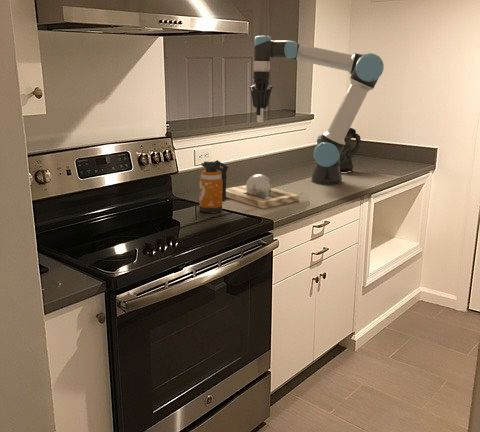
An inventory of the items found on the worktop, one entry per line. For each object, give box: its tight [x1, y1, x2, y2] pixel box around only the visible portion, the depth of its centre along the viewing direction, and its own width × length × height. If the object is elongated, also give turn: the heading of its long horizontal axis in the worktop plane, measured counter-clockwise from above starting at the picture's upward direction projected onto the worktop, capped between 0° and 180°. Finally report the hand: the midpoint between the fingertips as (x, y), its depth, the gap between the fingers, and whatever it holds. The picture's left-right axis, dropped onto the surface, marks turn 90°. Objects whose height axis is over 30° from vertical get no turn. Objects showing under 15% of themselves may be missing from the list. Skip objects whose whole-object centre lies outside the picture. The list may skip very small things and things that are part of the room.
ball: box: [245, 173, 273, 200], centre depth 234 cm, size 11×11×11 cm
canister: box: [198, 159, 229, 213], centre depth 213 cm, size 9×11×20 cm
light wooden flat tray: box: [226, 184, 300, 209], centre depth 238 cm, size 21×28×2 cm
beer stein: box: [339, 127, 362, 172], centre depth 300 cm, size 16×19×25 cm
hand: (260, 122), depth 260 cm, fingers closed
